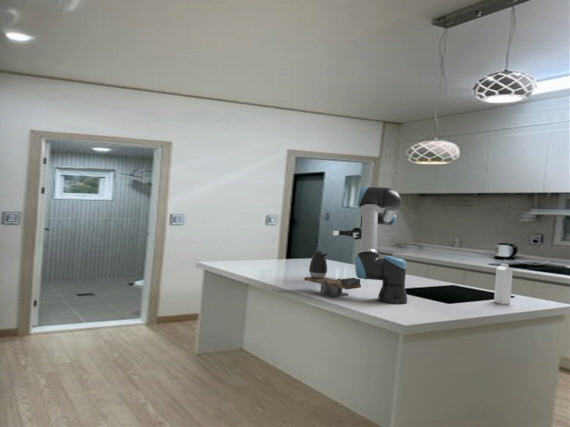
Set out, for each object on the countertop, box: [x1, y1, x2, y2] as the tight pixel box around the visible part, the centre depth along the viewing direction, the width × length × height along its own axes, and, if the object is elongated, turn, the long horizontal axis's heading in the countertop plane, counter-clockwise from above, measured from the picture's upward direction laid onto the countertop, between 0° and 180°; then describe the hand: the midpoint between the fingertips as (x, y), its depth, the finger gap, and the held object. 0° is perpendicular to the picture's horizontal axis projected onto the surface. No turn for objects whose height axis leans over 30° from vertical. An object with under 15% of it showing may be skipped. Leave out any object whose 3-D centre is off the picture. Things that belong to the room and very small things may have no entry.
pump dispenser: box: [308, 250, 328, 279], centre depth 267 cm, size 10×10×15 cm
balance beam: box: [304, 276, 362, 290], centre depth 260 cm, size 30×12×4 cm, turn 45°
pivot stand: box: [313, 278, 349, 299], centre depth 260 cm, size 12×15×8 cm
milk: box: [493, 262, 514, 305], centre depth 265 cm, size 6×6×22 cm
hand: (343, 234), depth 282 cm, fingers open, 13 cm apart
